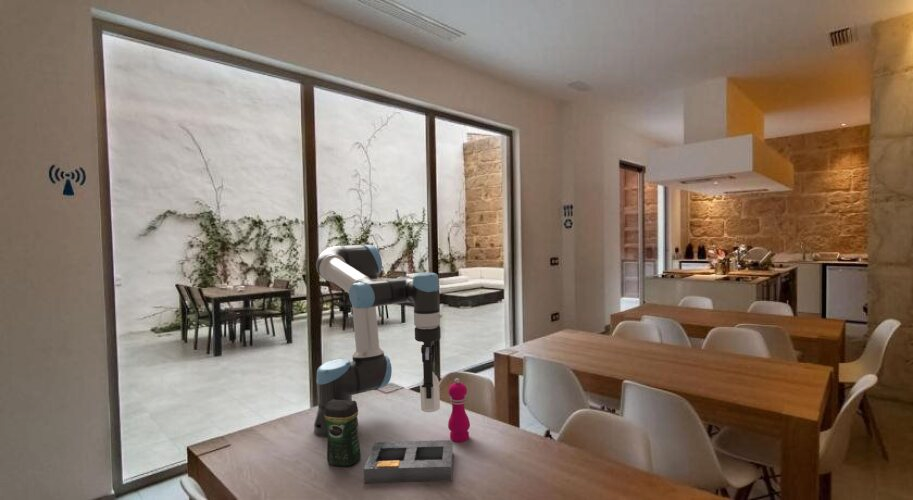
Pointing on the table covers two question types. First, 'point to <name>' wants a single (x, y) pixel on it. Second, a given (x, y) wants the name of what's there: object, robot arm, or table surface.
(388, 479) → the hole plate
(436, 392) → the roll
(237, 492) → the table surface
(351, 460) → the coffee jar
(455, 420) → the pepper mill
